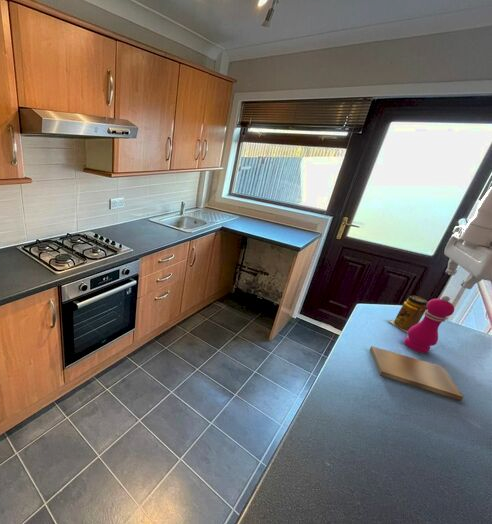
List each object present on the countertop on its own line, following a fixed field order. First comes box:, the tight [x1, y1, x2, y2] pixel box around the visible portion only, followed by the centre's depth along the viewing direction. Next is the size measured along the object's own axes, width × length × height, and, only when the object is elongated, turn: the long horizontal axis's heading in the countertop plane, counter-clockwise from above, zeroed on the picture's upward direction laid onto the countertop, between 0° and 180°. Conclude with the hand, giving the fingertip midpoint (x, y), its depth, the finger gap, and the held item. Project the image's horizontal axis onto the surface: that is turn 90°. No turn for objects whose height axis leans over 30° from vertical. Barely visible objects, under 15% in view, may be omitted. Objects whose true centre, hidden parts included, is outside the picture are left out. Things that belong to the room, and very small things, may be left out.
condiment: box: [387, 295, 429, 333], centre depth 102 cm, size 7×8×12 cm
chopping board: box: [369, 345, 464, 401], centre depth 83 cm, size 18×12×2 cm, turn 65°
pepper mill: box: [403, 295, 455, 354], centre depth 90 cm, size 7×7×20 cm
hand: (457, 280), depth 83 cm, fingers open, 8 cm apart
